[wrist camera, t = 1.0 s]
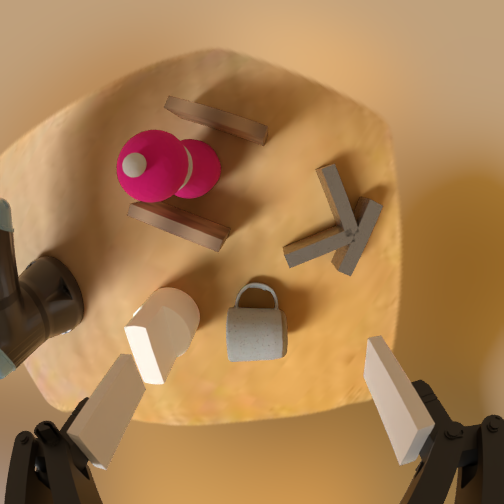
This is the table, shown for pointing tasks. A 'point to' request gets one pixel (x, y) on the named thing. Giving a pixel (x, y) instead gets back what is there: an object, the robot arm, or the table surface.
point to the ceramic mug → (256, 330)
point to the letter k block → (338, 227)
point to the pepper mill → (166, 167)
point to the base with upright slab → (162, 332)
